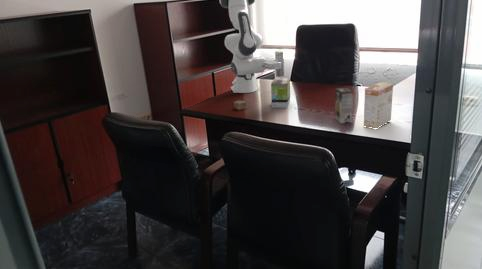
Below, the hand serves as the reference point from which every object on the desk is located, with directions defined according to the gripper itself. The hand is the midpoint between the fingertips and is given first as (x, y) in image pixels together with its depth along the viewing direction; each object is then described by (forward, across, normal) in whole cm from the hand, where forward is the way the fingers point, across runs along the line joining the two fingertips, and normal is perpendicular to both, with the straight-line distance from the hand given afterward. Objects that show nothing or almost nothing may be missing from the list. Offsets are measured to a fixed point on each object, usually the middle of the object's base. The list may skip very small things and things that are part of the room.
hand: (281, 62), depth 233 cm
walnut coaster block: (-25, +6, +26) cm, 36 cm away
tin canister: (-1, 0, +8) cm, 8 cm away
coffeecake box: (+23, -58, +26) cm, 67 cm away
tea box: (-1, 0, +26) cm, 26 cm away
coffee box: (+13, -44, +26) cm, 53 cm away
